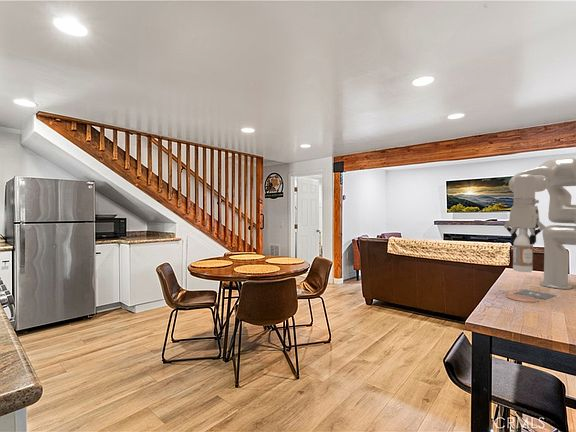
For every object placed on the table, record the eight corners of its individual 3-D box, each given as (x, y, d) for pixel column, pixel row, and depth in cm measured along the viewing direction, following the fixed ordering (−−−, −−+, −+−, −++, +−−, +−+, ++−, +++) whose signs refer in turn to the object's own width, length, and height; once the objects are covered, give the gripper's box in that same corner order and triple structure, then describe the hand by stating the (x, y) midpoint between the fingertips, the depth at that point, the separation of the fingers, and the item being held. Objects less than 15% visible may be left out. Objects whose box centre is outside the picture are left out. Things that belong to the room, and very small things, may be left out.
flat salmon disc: (513, 294, 146) (513, 292, 146) (542, 300, 136) (542, 298, 136) (502, 297, 140) (502, 296, 140) (531, 303, 130) (531, 302, 130)
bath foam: (519, 272, 135) (520, 226, 134) (509, 269, 142) (510, 225, 141) (536, 272, 134) (537, 226, 134) (525, 269, 141) (526, 225, 140)
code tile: (525, 289, 153) (525, 289, 153) (556, 295, 143) (556, 295, 143) (514, 293, 147) (514, 292, 147) (545, 299, 137) (545, 299, 137)
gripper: (551, 202, 132) (550, 245, 132) (506, 203, 146) (505, 241, 147) (544, 202, 128) (543, 246, 128) (498, 203, 142) (497, 242, 143)
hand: (523, 243), depth 137 cm, fingers closed on bath foam, 6 cm apart
